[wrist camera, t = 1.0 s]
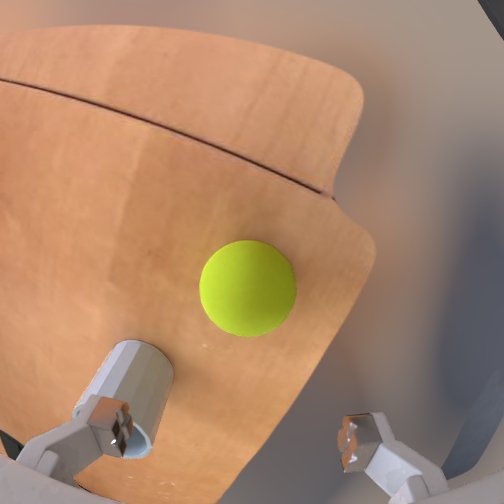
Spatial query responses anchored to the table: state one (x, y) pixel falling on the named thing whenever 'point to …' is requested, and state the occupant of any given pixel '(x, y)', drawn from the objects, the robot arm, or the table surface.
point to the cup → (134, 389)
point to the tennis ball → (247, 288)
